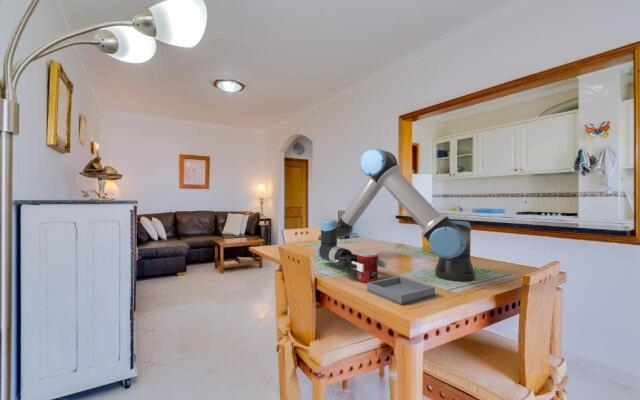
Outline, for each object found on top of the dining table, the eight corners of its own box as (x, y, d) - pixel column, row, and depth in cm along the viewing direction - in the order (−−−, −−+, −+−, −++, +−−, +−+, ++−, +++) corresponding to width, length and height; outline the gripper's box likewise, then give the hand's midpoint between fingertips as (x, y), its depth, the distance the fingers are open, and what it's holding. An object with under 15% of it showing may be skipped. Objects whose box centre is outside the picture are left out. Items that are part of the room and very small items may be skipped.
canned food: (373, 284, 115) (373, 255, 115) (354, 281, 119) (354, 253, 119) (380, 280, 121) (380, 252, 121) (362, 277, 126) (362, 250, 125)
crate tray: (399, 284, 116) (399, 276, 116) (435, 296, 102) (435, 287, 102) (367, 291, 107) (367, 282, 107) (401, 305, 94) (401, 295, 94)
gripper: (361, 261, 142) (396, 272, 123) (318, 268, 129) (350, 280, 111) (361, 245, 142) (396, 253, 123) (318, 250, 129) (350, 260, 111)
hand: (374, 266), depth 117 cm, fingers open, 11 cm apart
